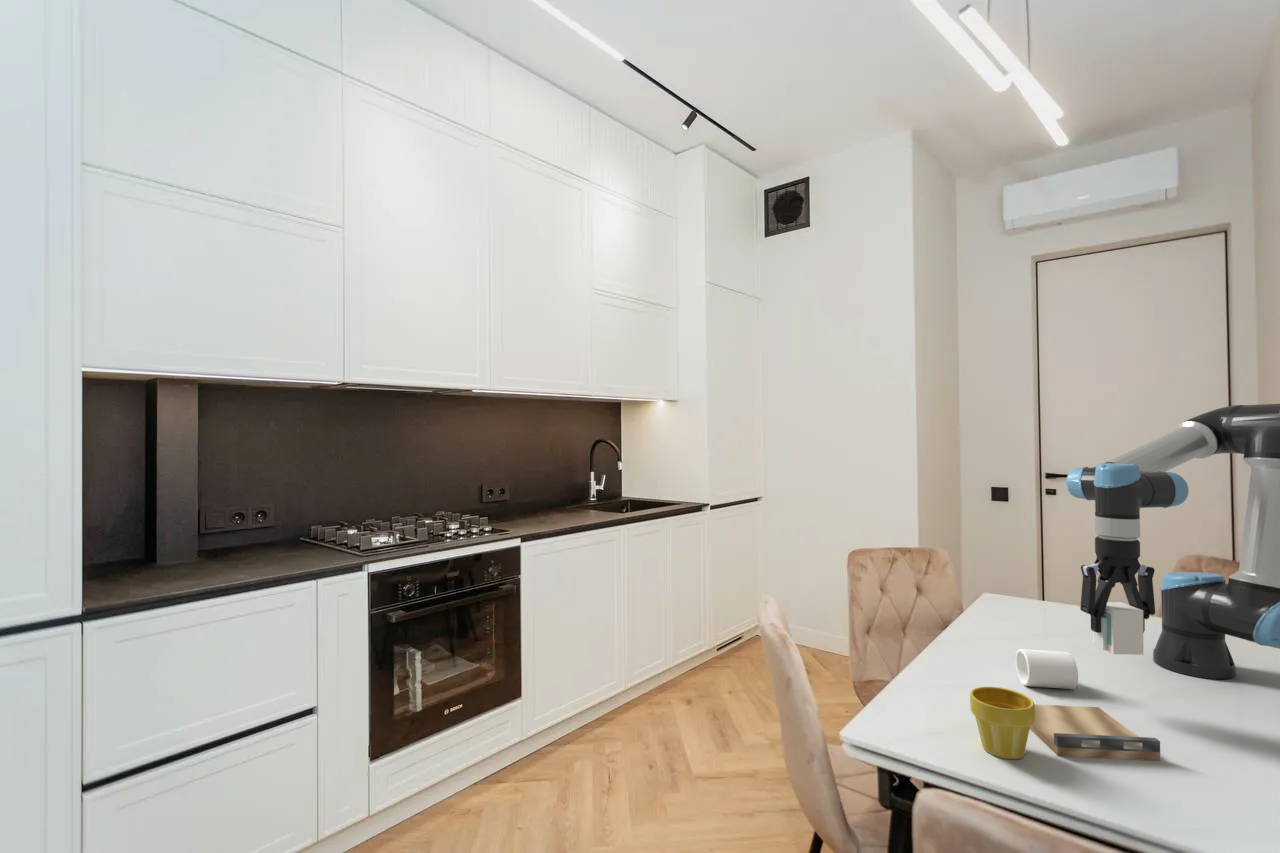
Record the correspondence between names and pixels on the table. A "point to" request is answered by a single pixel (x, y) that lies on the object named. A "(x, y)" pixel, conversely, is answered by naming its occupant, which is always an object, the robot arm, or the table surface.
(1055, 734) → the shelf board
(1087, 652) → the table surface
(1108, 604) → the carton
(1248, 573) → the robot arm
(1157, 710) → the table surface
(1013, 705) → the plant pot
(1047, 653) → the mug
